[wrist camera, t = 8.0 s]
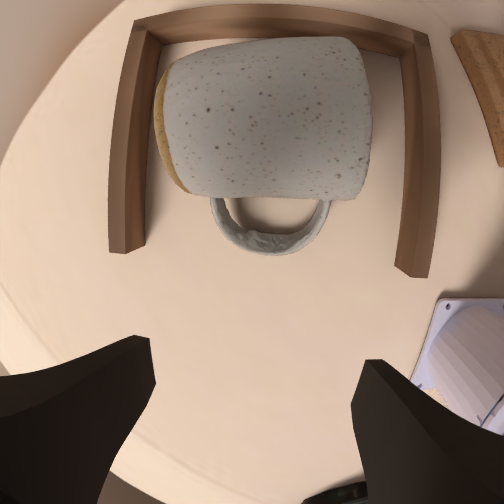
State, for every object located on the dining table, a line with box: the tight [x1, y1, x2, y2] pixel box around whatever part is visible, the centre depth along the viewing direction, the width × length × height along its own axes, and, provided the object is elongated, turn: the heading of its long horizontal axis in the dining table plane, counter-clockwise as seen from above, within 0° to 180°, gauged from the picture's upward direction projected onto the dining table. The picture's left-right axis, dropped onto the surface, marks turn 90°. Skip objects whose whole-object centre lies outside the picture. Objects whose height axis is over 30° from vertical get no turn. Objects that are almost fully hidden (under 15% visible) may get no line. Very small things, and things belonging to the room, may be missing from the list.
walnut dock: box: [108, 4, 441, 278], centre depth 14 cm, size 18×15×2 cm
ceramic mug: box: [154, 36, 372, 256], centre depth 12 cm, size 11×8×8 cm
